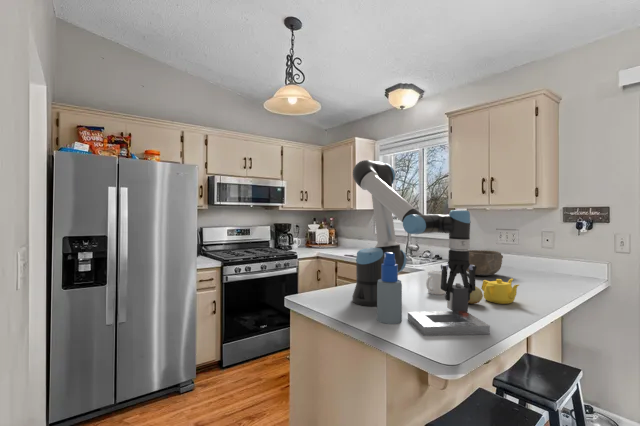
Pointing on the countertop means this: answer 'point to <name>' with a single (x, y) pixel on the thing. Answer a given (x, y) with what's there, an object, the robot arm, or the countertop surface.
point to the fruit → (475, 296)
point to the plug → (459, 298)
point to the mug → (434, 283)
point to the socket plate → (448, 323)
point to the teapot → (499, 291)
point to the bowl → (485, 261)
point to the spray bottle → (389, 292)
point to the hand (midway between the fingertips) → (457, 308)
